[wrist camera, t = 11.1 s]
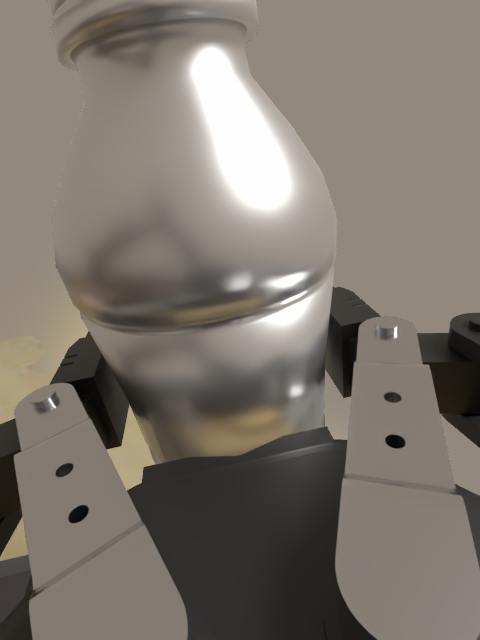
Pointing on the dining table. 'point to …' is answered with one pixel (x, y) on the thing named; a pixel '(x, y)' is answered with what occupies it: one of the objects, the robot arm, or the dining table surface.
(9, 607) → the box
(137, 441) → the dining table surface
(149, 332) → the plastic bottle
